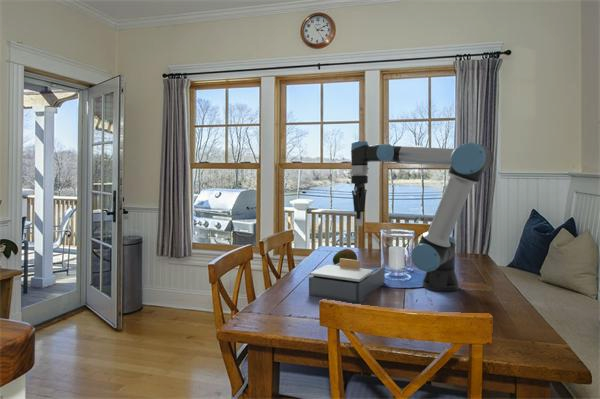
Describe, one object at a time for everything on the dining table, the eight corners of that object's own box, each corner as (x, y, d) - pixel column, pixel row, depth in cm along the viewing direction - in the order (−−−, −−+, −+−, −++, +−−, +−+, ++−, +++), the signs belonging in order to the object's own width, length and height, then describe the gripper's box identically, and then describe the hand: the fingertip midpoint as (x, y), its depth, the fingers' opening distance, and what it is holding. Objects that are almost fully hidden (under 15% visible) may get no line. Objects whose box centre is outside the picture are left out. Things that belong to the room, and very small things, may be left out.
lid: (373, 272, 168) (373, 261, 168) (359, 281, 153) (359, 270, 153) (327, 266, 179) (327, 256, 179) (309, 275, 164) (309, 264, 164)
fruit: (360, 268, 208) (360, 250, 208) (339, 271, 204) (339, 252, 203) (349, 264, 219) (349, 246, 219) (329, 266, 215) (329, 248, 214)
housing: (384, 282, 182) (384, 266, 181) (358, 303, 153) (358, 284, 153) (341, 276, 193) (340, 261, 192) (308, 295, 164) (308, 277, 163)
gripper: (362, 175, 173) (362, 227, 175) (372, 174, 185) (371, 224, 186) (346, 175, 177) (346, 226, 179) (357, 174, 188) (357, 223, 190)
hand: (359, 225), depth 182 cm, fingers closed
